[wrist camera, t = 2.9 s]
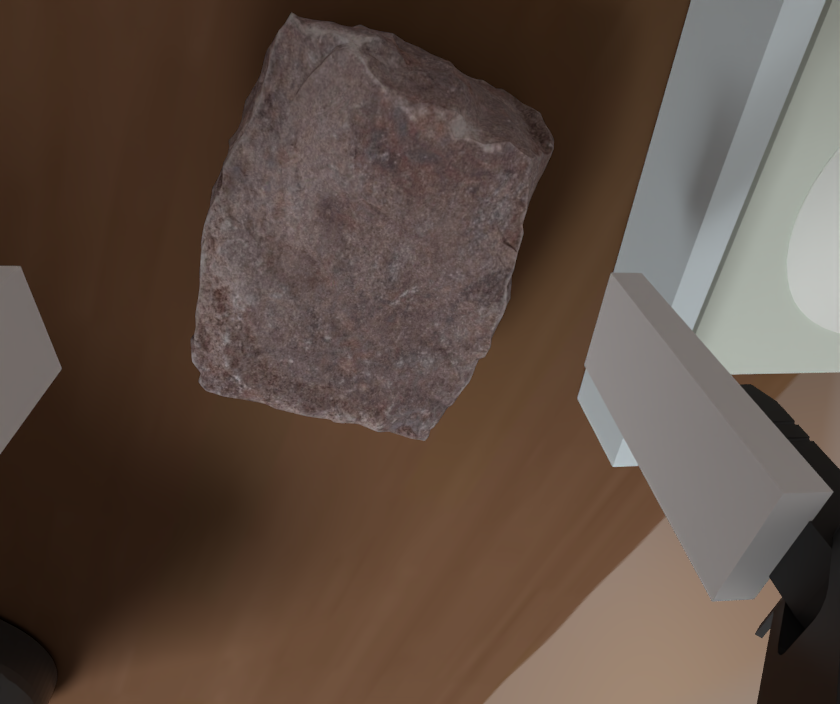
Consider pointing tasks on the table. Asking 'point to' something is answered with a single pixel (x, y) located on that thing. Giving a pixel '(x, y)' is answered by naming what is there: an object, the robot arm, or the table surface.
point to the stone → (363, 230)
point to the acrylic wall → (705, 156)
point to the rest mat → (787, 234)
